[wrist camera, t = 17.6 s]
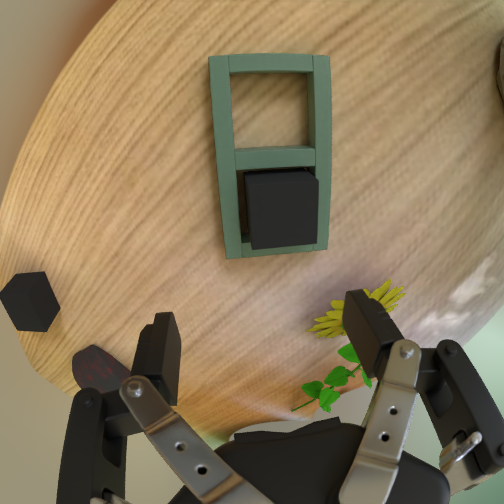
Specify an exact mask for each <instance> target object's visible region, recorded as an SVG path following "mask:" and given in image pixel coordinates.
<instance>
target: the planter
mask: <svg viewBox="0 0 504 504" xmlns="http://www.w3.org/2000/svg"><path fill="white" fill-rule="evenodd" d="M496 81H497V84H498V87H499V90H500V93H501V96H502V98H503V101H504V38H503V40H502V44H501V50H500V66H499V71H498V73H497V75H496Z"/></svg>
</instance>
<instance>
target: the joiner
mask: <svg viewBox="0 0 504 504" xmlns="http://www.w3.org/2000/svg"><path fill="white" fill-rule="evenodd" d="M208 59H209V74H210V89H211V103H212V116H213V129H214V141H215V152H216V164H217V175H218V185H219V196H220V206H221V216H222V225H223V235H224V244H225V253H226V259H234V258H242V257H243V258H246V257H257V256H267V255H278V254H288V253H299V252H309V251H318V250H327V249H328V236H329V220H330V201H331V173H332V95H331V69H330V56H323V55H311V54H289V53H255V54H232V55H220V56H209V57H208ZM260 73H298V74H307V92H308V125H309V146H308V145H300V146H272V147H254V148H239V149H234V135H233V120H232V105H231V90H230V75H237V74H260ZM303 166H309V173H311V174H312V175H313V176H314V177H315V178H316V179H318V180H319V206H318V235H317V244H310V245H300V246H290V247H279V248H269V249H259V250H252V248H251V243H250V238H249V233H245V234H241V230H240V217H239V204H238V190H237V177H236V170H248V169H263V168H280V167H303Z"/></svg>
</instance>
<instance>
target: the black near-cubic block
mask: <svg viewBox="0 0 504 504" xmlns="http://www.w3.org/2000/svg"><path fill="white" fill-rule="evenodd" d="M243 175H244V188H245V202H246V215H247V228H248V233H249V238H250V243H251V248H252V250H259V249H269V248H279V247H290V246H300V245H310V244H317V235H318V206H319V180H318V179H316V178H315V177H314V176H313V175H312V174H311V173H309V172H308V171H307V170H306V169H305V168H288V169H271V170H257V171H245V172H243Z"/></svg>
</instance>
